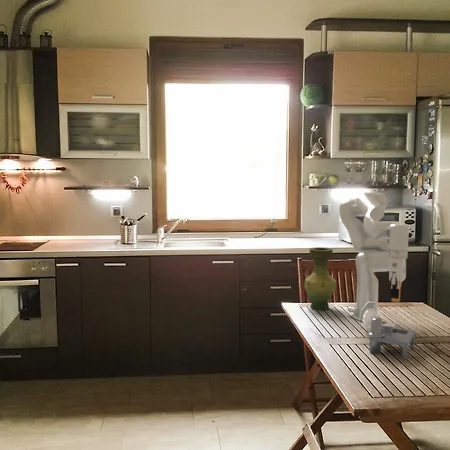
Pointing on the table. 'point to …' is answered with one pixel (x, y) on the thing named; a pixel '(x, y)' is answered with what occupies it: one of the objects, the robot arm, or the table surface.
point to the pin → (399, 294)
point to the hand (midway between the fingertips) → (395, 296)
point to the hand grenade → (368, 315)
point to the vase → (320, 280)
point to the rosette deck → (389, 336)
